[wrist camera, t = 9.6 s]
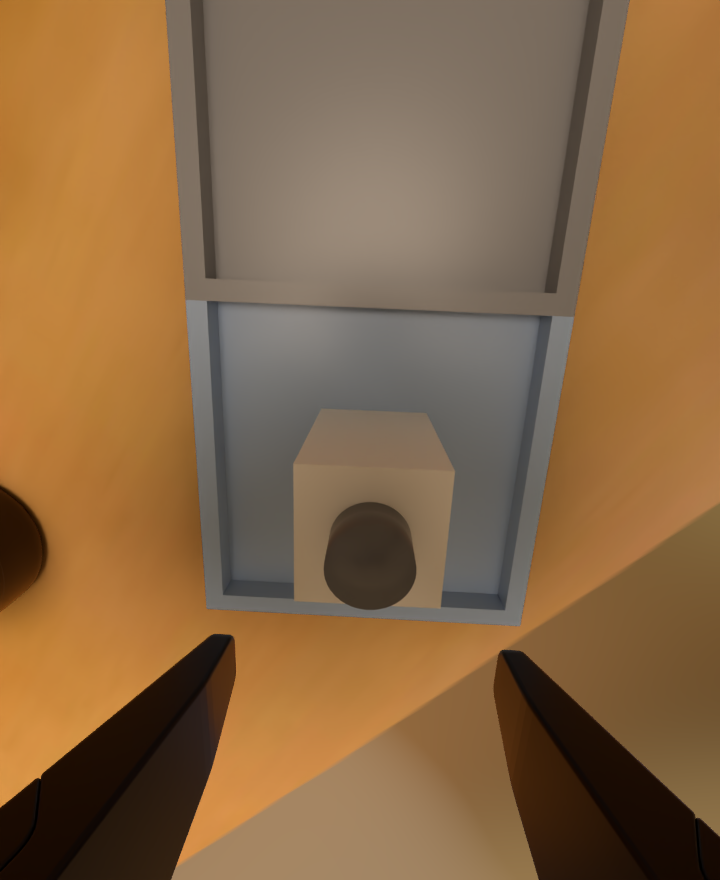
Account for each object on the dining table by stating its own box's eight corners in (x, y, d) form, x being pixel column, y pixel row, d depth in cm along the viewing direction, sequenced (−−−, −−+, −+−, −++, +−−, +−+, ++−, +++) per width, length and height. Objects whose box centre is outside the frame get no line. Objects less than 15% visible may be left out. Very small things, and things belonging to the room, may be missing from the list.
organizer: (636, -169, 14) (668, -228, 12) (510, 603, 22) (520, 626, 21) (173, -181, 14) (148, -241, 13) (218, 588, 22) (206, 608, 21)
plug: (426, 412, 19) (466, 494, 11) (418, 508, 20) (448, 647, 12) (321, 408, 19) (281, 485, 11) (320, 504, 20) (284, 637, 12)
